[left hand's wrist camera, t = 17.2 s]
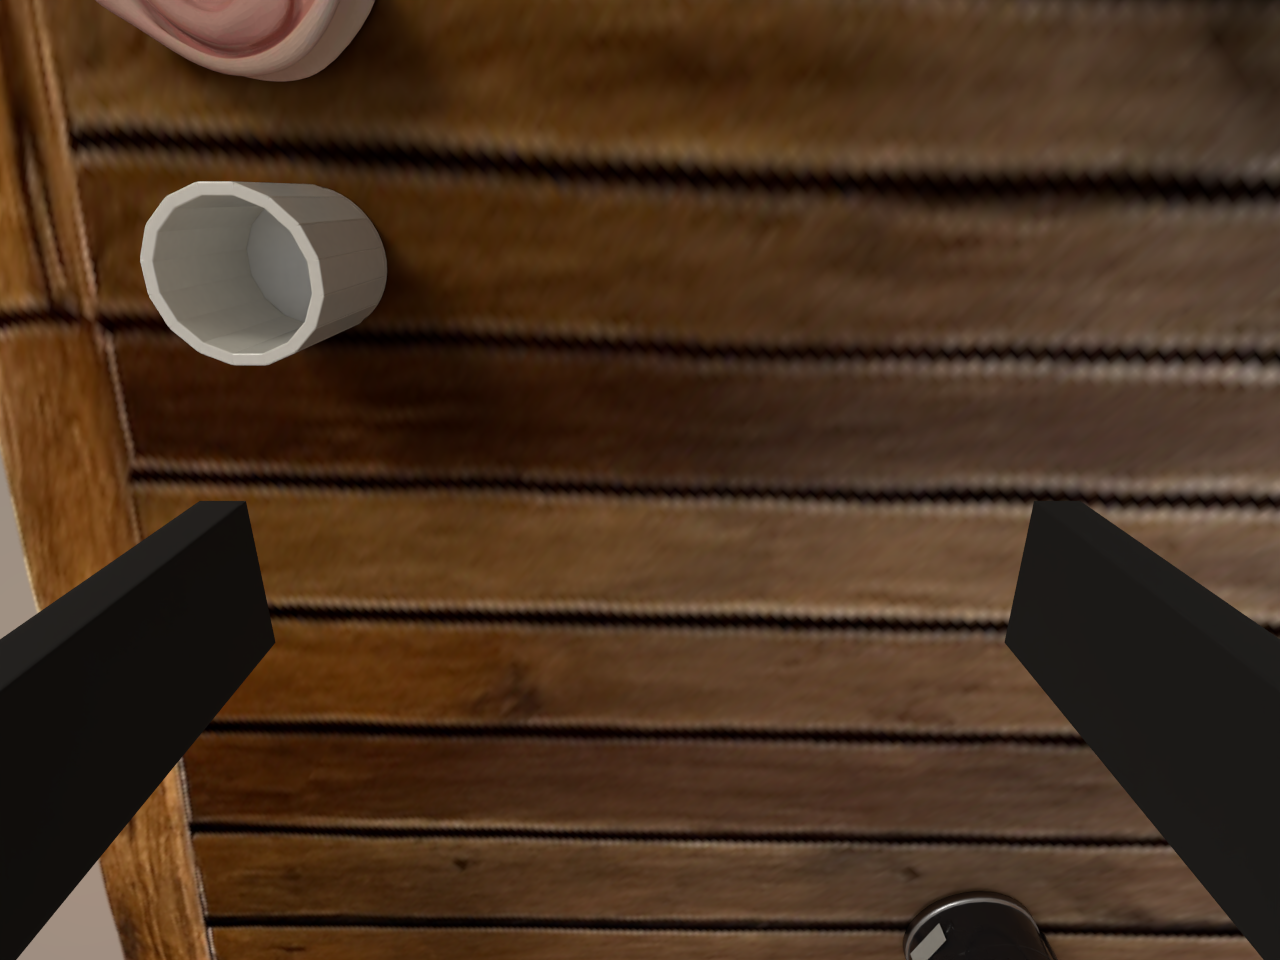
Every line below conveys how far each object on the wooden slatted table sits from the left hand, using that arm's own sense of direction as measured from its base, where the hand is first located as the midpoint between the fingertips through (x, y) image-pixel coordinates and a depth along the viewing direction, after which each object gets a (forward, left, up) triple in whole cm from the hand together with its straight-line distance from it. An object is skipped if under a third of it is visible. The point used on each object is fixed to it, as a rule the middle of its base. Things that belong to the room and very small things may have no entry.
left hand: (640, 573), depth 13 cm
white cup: (+16, -3, -27) cm, 31 cm away
